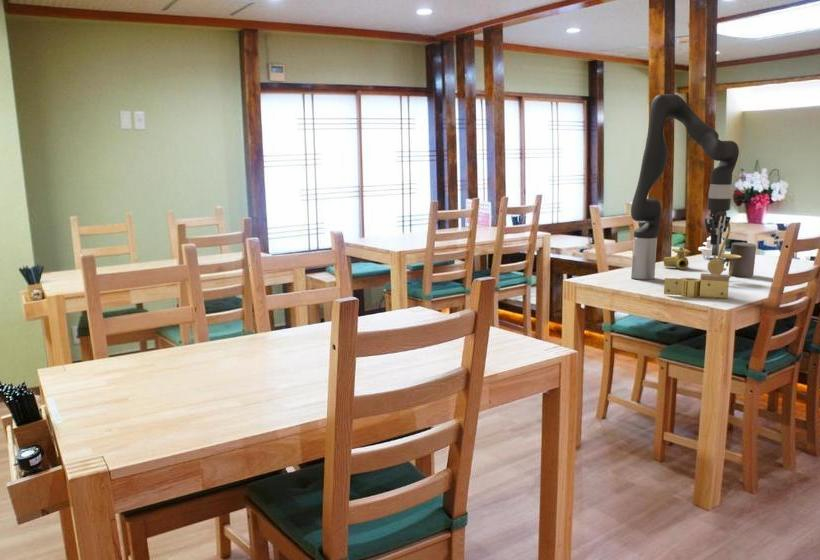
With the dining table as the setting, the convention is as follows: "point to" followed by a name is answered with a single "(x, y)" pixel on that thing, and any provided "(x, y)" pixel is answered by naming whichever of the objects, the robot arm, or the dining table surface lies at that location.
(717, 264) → the wall sconce
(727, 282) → the hinge block
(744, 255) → the pillar candle
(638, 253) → the robot arm
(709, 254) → the mechanical part
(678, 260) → the ball valve
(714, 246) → the hinge pin
